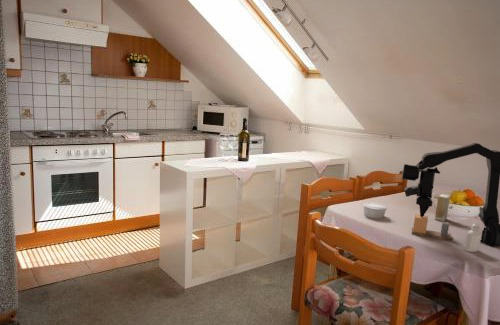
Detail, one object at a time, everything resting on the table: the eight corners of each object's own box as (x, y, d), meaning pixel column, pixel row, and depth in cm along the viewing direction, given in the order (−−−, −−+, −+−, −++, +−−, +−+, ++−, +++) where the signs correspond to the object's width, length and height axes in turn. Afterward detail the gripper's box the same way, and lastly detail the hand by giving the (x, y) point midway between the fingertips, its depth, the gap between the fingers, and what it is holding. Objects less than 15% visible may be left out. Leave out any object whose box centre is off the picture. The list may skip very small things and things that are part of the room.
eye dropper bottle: (480, 253, 161) (485, 224, 159) (465, 251, 162) (470, 222, 160) (477, 249, 165) (481, 221, 163) (462, 247, 166) (466, 219, 164)
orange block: (425, 230, 182) (427, 216, 181) (425, 233, 178) (427, 219, 176) (413, 228, 184) (415, 214, 183) (412, 231, 180) (414, 217, 178)
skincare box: (437, 216, 208) (441, 193, 206) (447, 218, 206) (450, 195, 203) (434, 219, 203) (437, 195, 201) (443, 221, 201) (447, 197, 199)
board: (450, 236, 180) (451, 234, 179) (451, 241, 173) (452, 239, 173) (412, 229, 185) (412, 227, 185) (411, 234, 179) (411, 231, 179)
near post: (446, 234, 178) (448, 222, 177) (447, 236, 176) (449, 224, 175) (440, 233, 179) (442, 221, 178) (440, 235, 177) (442, 223, 176)
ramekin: (371, 220, 196) (373, 209, 195) (357, 213, 206) (358, 203, 205) (390, 218, 200) (391, 208, 199) (375, 212, 210) (376, 202, 209)
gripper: (407, 175, 189) (403, 208, 191) (406, 183, 171) (401, 218, 174) (433, 179, 184) (428, 212, 187) (434, 187, 167) (429, 223, 170)
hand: (421, 216), depth 180 cm, fingers closed
